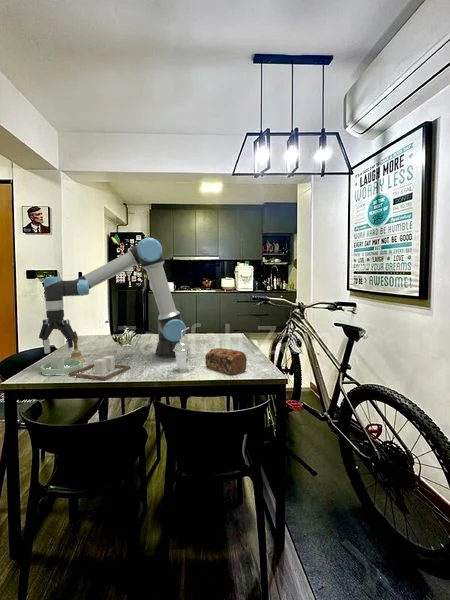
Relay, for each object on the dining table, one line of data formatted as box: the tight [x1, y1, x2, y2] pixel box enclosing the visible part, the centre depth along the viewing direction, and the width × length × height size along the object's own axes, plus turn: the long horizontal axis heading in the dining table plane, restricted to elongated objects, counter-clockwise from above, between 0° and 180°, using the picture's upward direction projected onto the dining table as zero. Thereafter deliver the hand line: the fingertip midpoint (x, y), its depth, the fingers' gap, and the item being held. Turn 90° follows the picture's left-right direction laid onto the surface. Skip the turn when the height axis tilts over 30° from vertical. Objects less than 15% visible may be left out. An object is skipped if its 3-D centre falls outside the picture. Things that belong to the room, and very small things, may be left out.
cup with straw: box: [173, 326, 192, 373], centre depth 168 cm, size 8×9×20 cm
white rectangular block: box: [50, 354, 65, 369], centre depth 171 cm, size 4×4×6 cm
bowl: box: [39, 359, 84, 375], centre depth 170 cm, size 18×18×3 cm
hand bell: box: [69, 331, 86, 363], centre depth 187 cm, size 8×8×16 cm
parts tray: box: [68, 363, 131, 381], centre depth 166 cm, size 20×19×2 cm
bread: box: [204, 347, 248, 376], centre depth 168 cm, size 19×11×10 cm, turn 41°
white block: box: [93, 358, 108, 375], centre depth 166 cm, size 4×4×6 cm
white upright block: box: [102, 355, 116, 371], centre depth 172 cm, size 4×4×6 cm
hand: (58, 353), depth 171 cm, fingers open, 13 cm apart
